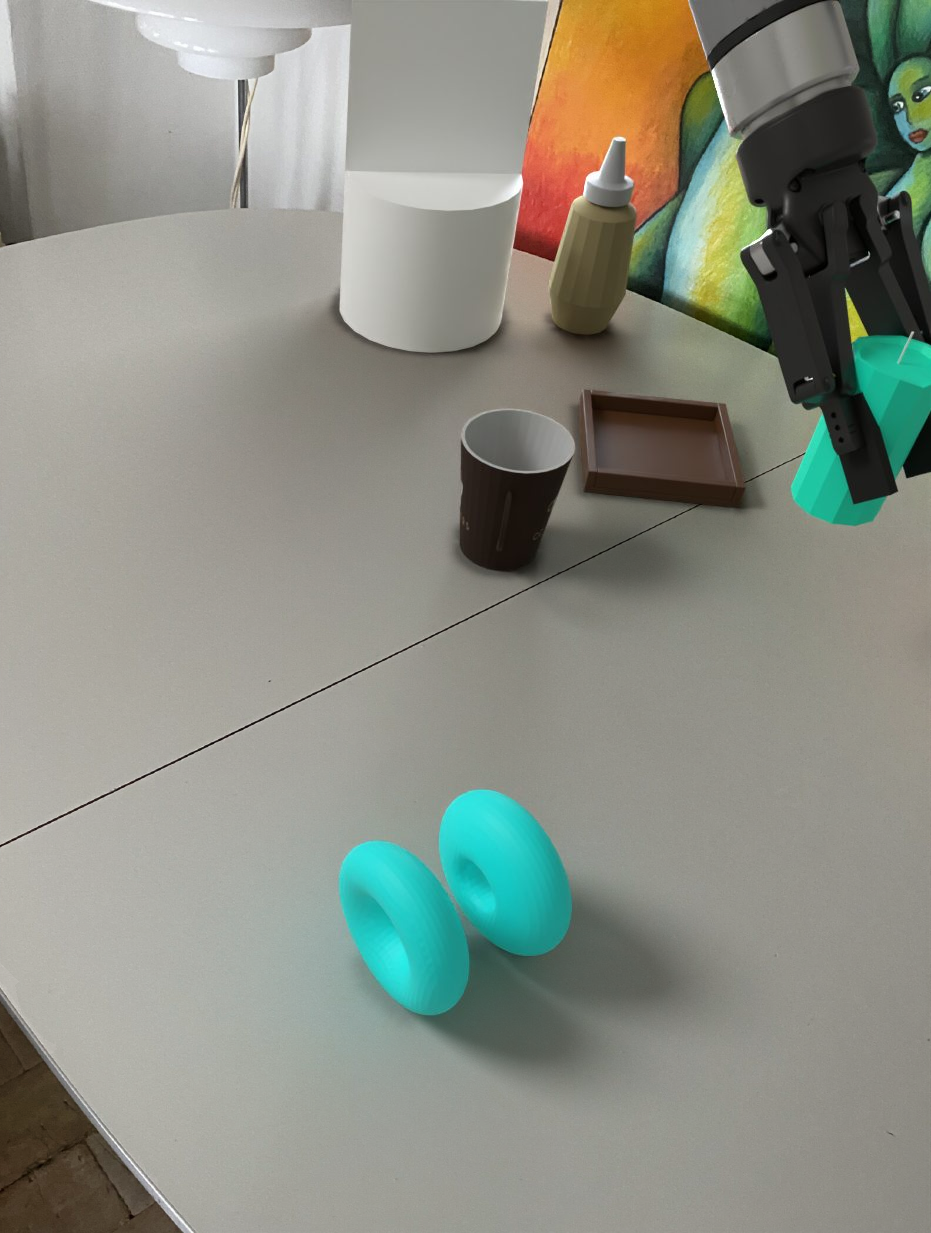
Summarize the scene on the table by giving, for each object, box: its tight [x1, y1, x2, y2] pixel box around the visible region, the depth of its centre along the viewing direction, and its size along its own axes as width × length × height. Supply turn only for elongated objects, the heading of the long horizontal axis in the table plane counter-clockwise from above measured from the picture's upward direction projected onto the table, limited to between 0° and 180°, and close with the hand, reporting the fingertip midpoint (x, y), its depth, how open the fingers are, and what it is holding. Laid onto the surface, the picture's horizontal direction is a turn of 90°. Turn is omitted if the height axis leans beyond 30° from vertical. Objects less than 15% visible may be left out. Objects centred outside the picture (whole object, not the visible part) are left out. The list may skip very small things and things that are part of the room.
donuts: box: [338, 788, 573, 1016], centre depth 59 cm, size 10×10×10 cm
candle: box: [790, 332, 931, 527], centre depth 68 cm, size 6×6×12 cm
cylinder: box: [339, 0, 549, 354], centre depth 102 cm, size 17×17×28 cm
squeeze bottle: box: [547, 136, 638, 335], centre depth 106 cm, size 8×8×18 cm
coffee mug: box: [458, 407, 576, 572], centre depth 83 cm, size 12×9×10 cm
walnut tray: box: [577, 388, 747, 509], centre depth 97 cm, size 14×14×2 cm
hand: (902, 483), depth 68 cm, fingers closed on candle, 5 cm apart
